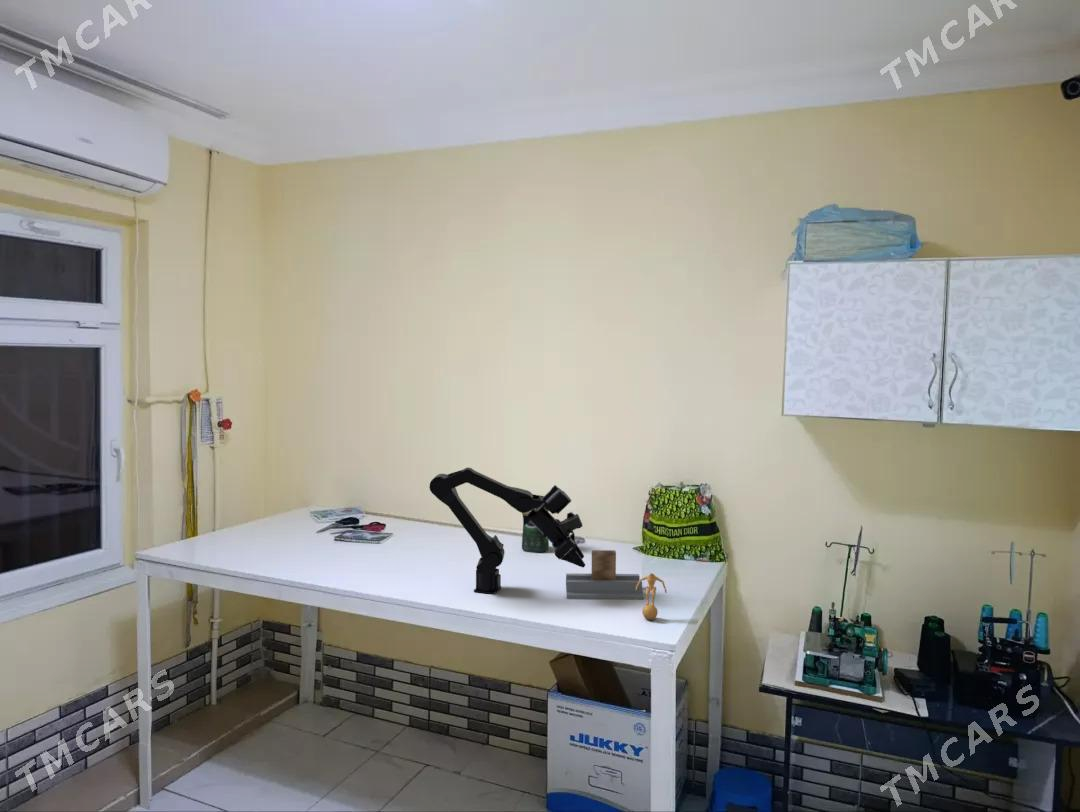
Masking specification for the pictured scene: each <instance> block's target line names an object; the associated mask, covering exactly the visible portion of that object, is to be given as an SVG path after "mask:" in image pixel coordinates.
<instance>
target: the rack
mask: <svg viewBox="0 0 1080 812" xmlns="http://www.w3.org/2000/svg"><path fill="white" fill-rule="evenodd" d="M640 579H641V578H640V574H639V573H616V580H592V573H577V572H576V573H574V572H573V573H571V572H570V573H565V592H566V595H565V596H566V600H567V599H575V600H576V599H577V600H578V599H583V600H586V599H587V600H592V599H593V600H644V594H643V580H642V581H641V582H640V584H639V585H638V587H637V590H635V589H636V586H637V584H638V582H639V580H640Z"/></svg>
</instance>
